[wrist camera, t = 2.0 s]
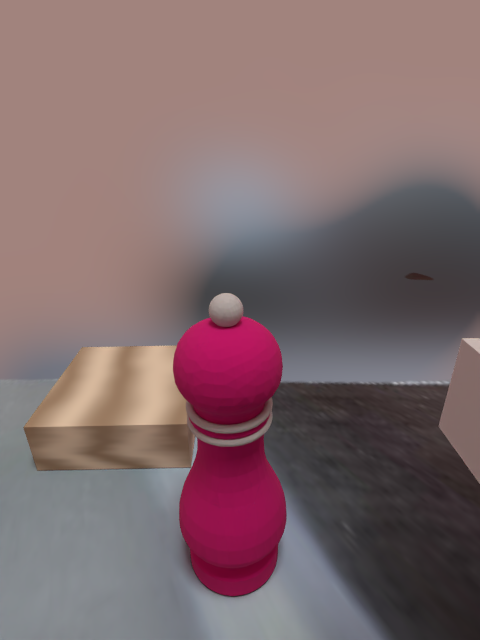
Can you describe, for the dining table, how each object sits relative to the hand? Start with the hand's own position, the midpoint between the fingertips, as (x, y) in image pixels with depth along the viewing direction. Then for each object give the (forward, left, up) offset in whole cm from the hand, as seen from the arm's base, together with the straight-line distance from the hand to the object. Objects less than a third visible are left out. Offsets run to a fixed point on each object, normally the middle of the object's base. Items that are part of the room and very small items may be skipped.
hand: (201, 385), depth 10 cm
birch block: (+11, -25, -21) cm, 35 cm away
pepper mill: (0, -10, -22) cm, 24 cm away
